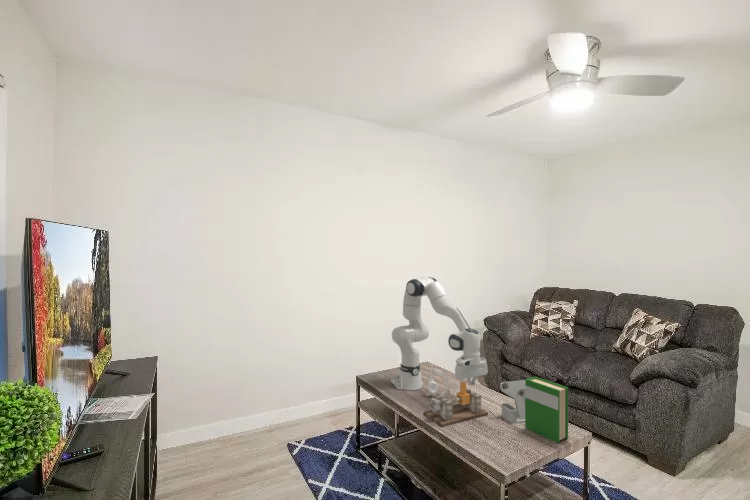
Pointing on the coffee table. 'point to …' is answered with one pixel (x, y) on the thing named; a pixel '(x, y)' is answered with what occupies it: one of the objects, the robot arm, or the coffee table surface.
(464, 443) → the coffee table surface
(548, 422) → the hardback book
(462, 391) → the sleeve
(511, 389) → the phone holder
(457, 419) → the cord comb board
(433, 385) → the headset
